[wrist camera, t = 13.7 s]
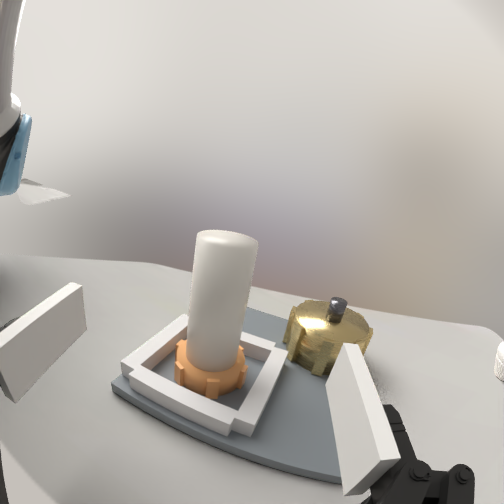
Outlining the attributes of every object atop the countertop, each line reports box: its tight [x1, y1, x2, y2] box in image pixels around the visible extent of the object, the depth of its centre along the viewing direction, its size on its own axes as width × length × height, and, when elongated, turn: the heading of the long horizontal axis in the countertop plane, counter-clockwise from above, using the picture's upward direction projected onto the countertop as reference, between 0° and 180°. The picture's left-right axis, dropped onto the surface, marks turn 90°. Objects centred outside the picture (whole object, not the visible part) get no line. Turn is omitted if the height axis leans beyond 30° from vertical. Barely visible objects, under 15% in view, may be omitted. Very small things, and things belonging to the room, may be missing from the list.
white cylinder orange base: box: [174, 230, 259, 399], centre depth 20 cm, size 6×6×12 cm
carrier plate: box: [111, 307, 342, 484], centre depth 24 cm, size 18×19×2 cm
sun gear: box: [282, 297, 373, 376], centre depth 26 cm, size 8×8×6 cm
